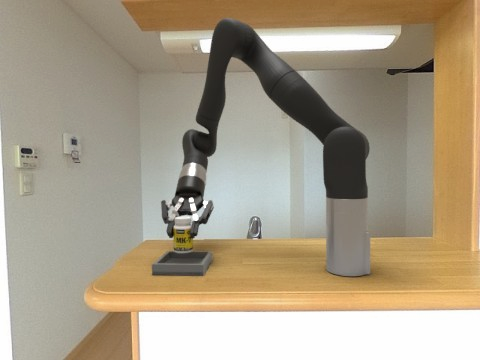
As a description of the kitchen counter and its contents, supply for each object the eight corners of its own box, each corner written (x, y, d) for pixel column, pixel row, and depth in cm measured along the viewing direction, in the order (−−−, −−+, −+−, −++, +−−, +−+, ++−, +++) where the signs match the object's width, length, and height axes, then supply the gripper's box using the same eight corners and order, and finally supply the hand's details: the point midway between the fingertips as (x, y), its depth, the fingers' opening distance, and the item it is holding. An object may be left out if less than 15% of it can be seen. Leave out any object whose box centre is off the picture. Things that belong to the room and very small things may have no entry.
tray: (212, 260, 89) (212, 251, 89) (203, 275, 77) (203, 264, 77) (167, 260, 90) (167, 250, 90) (152, 275, 78) (151, 264, 78)
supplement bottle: (174, 254, 80) (173, 219, 80) (173, 249, 85) (172, 216, 84) (194, 252, 82) (193, 218, 81) (192, 248, 86) (191, 215, 86)
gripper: (163, 174, 90) (148, 227, 79) (215, 173, 89) (208, 228, 78) (169, 192, 96) (156, 244, 84) (219, 192, 95) (212, 245, 83)
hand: (181, 236), depth 81 cm, fingers closed on supplement bottle, 4 cm apart
